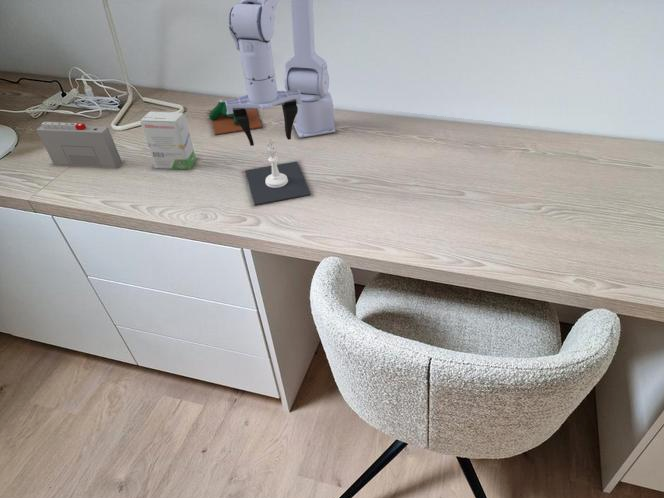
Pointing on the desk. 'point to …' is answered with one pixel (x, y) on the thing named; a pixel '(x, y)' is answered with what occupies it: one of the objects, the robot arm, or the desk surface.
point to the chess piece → (274, 169)
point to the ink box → (168, 140)
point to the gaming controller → (221, 112)
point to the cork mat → (228, 126)
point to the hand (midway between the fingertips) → (270, 140)
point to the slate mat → (289, 191)
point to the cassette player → (79, 145)
